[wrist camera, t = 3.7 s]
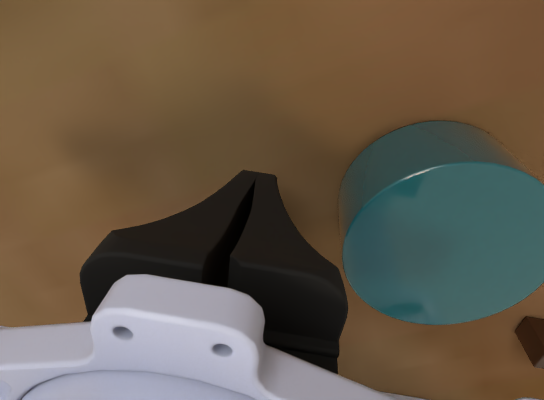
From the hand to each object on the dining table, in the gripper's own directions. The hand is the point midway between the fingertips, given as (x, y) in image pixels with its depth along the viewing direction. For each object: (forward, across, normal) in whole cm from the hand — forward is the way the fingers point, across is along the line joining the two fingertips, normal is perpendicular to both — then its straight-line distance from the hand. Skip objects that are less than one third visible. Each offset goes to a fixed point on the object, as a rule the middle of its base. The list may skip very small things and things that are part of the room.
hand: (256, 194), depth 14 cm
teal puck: (+2, -7, 0) cm, 7 cm away
